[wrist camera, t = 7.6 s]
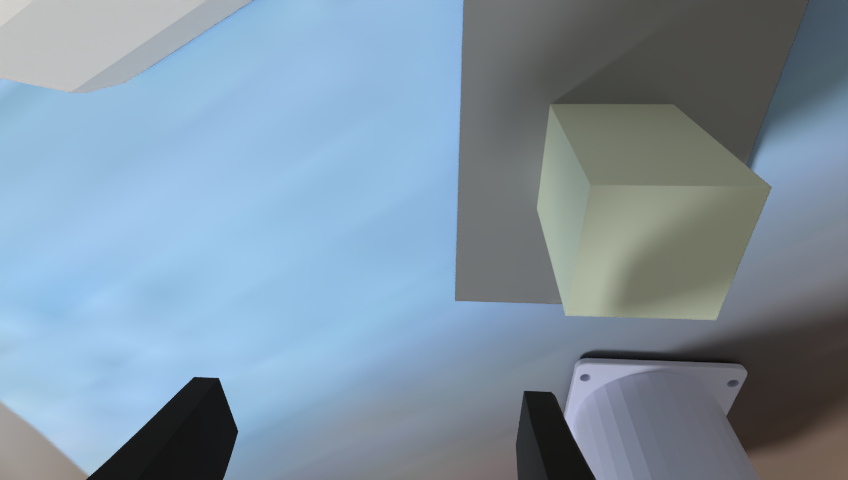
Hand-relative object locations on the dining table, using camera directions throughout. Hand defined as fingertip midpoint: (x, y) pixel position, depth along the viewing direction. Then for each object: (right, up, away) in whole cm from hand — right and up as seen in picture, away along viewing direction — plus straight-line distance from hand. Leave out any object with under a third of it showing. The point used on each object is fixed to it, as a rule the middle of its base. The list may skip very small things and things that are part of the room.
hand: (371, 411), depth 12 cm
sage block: (+7, +7, +6) cm, 12 cm away
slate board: (+8, +8, +6) cm, 12 cm away
